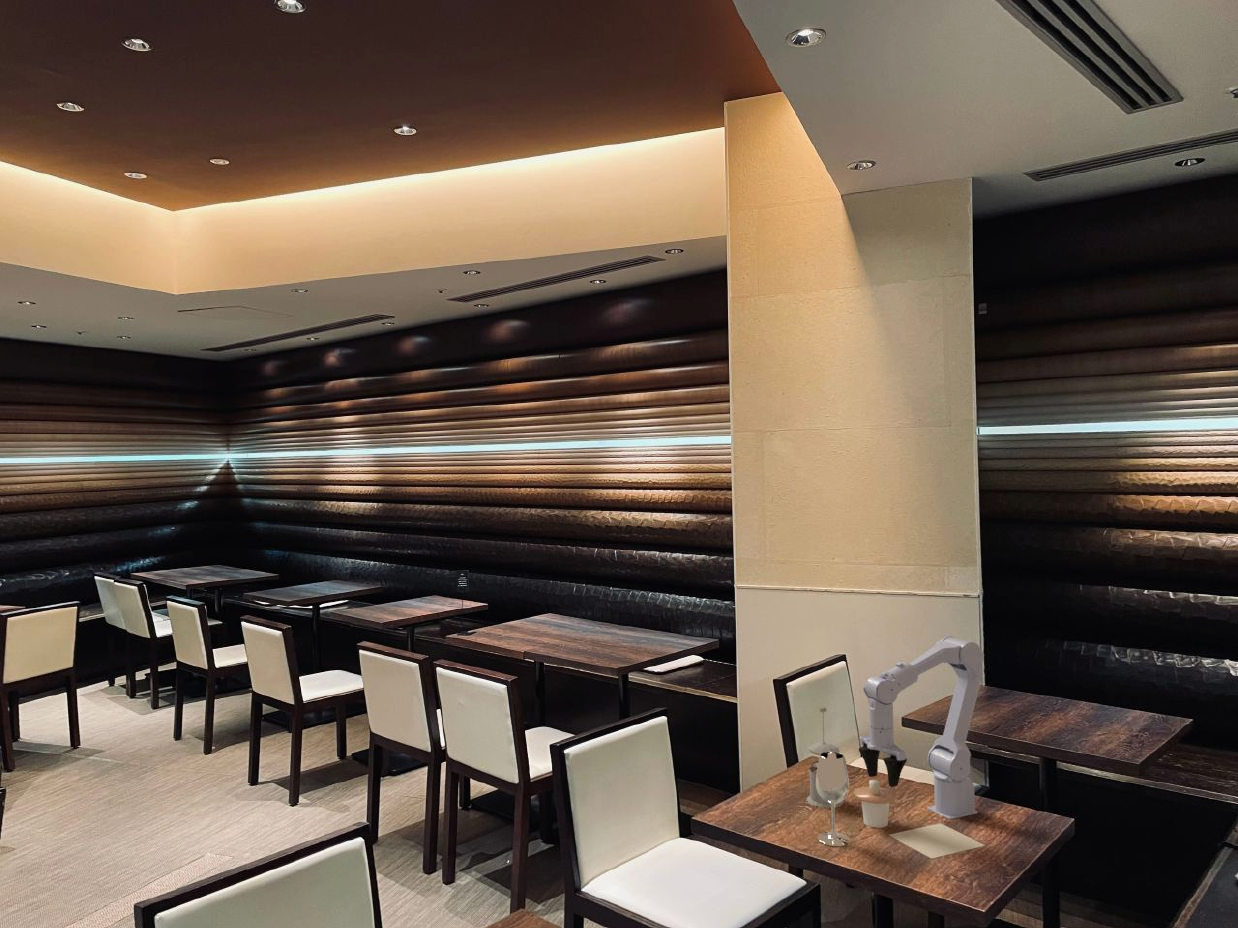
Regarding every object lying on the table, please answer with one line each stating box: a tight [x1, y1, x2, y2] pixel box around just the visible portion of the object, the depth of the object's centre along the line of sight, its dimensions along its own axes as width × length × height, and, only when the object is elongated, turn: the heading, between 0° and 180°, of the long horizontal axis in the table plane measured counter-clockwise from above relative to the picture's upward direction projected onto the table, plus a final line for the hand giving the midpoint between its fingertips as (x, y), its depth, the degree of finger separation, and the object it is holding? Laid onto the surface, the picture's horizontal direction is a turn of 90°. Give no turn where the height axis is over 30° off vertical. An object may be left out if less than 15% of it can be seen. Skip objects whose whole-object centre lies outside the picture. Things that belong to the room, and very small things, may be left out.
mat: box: [888, 823, 986, 860], centre depth 198 cm, size 16×14×1 cm
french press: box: [806, 706, 847, 809], centre depth 225 cm, size 10×12×25 cm
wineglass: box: [815, 752, 851, 847], centre depth 200 cm, size 8×8×20 cm
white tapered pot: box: [861, 801, 890, 828], centre depth 208 cm, size 7×7×7 cm
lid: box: [853, 779, 897, 804], centre depth 208 cm, size 10×10×4 cm
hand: (883, 780), depth 210 cm, fingers open, 7 cm apart
